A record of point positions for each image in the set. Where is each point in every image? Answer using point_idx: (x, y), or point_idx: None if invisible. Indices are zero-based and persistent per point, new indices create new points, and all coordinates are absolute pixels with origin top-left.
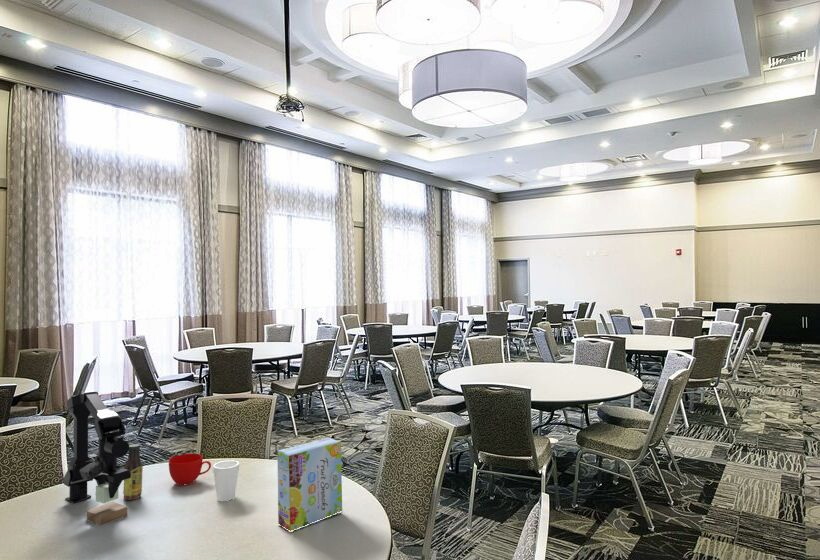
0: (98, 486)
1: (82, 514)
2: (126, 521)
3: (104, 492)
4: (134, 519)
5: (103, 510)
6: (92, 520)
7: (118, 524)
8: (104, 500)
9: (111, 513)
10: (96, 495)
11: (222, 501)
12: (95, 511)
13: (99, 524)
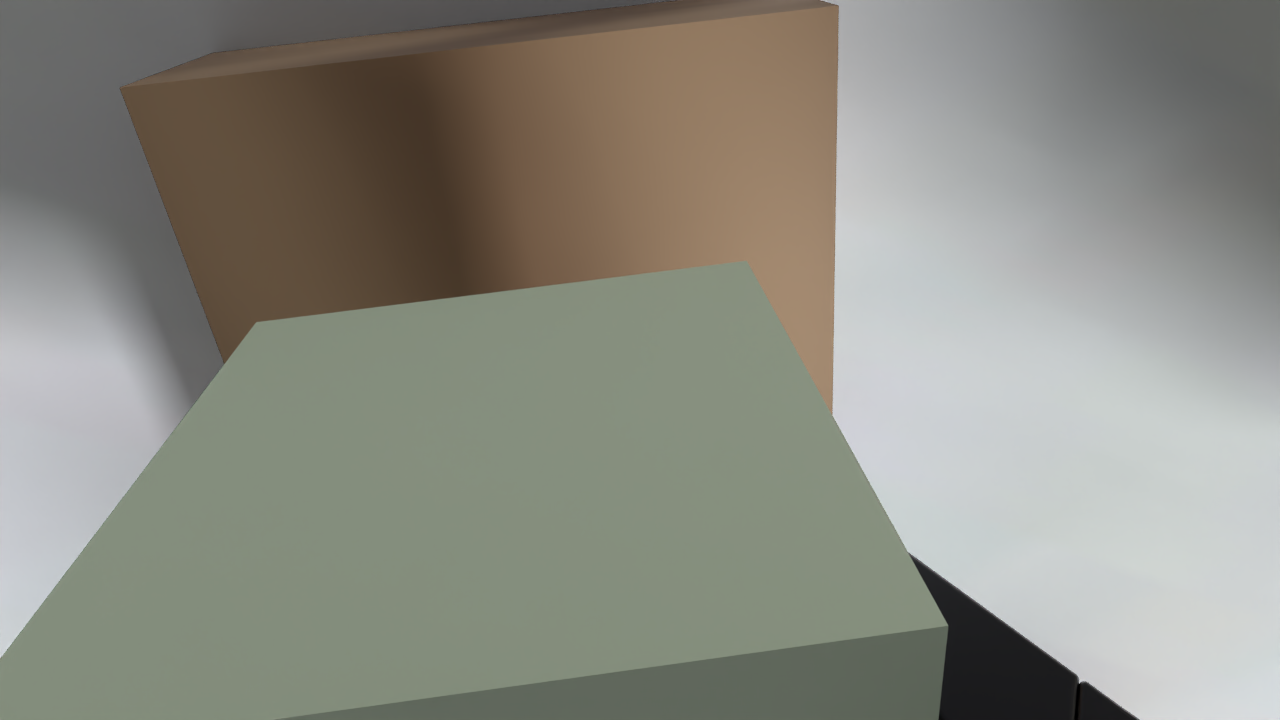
0: (718, 690)
1: (1112, 58)
2: (97, 418)
3: (71, 594)
4: (98, 519)
5: (501, 274)
6: (553, 18)
7: (44, 286)
8: (232, 383)
9: (215, 324)
10: (739, 346)
11: None
12: (597, 131)
13: (281, 46)
